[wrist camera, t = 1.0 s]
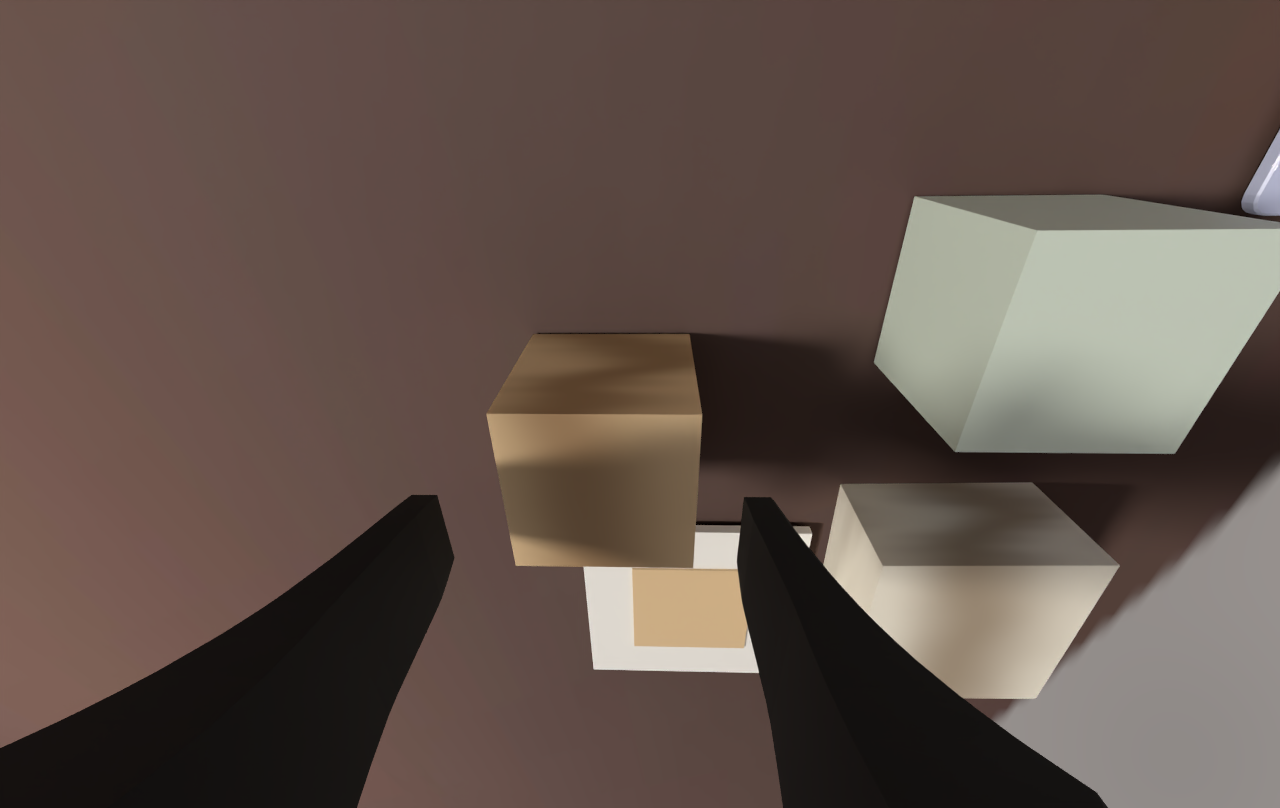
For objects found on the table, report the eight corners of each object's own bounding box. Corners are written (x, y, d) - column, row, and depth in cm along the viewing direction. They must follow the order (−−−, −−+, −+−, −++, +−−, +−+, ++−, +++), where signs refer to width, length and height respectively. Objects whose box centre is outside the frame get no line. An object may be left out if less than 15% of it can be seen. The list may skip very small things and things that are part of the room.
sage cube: (1102, 194, 13) (1319, 228, 9) (1031, 363, 16) (1174, 453, 11) (914, 196, 13) (1037, 230, 9) (873, 362, 16) (954, 451, 12)
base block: (1031, 481, 18) (1119, 565, 15) (974, 607, 22) (1035, 698, 18) (840, 483, 19) (882, 565, 15) (814, 606, 22) (843, 697, 18)
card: (809, 526, 19) (813, 535, 19) (780, 665, 24) (782, 675, 23) (581, 523, 20) (579, 533, 19) (594, 661, 24) (593, 671, 24)
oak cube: (689, 333, 16) (702, 414, 11) (684, 461, 18) (693, 568, 14) (533, 334, 16) (486, 413, 11) (549, 460, 18) (515, 565, 14)
